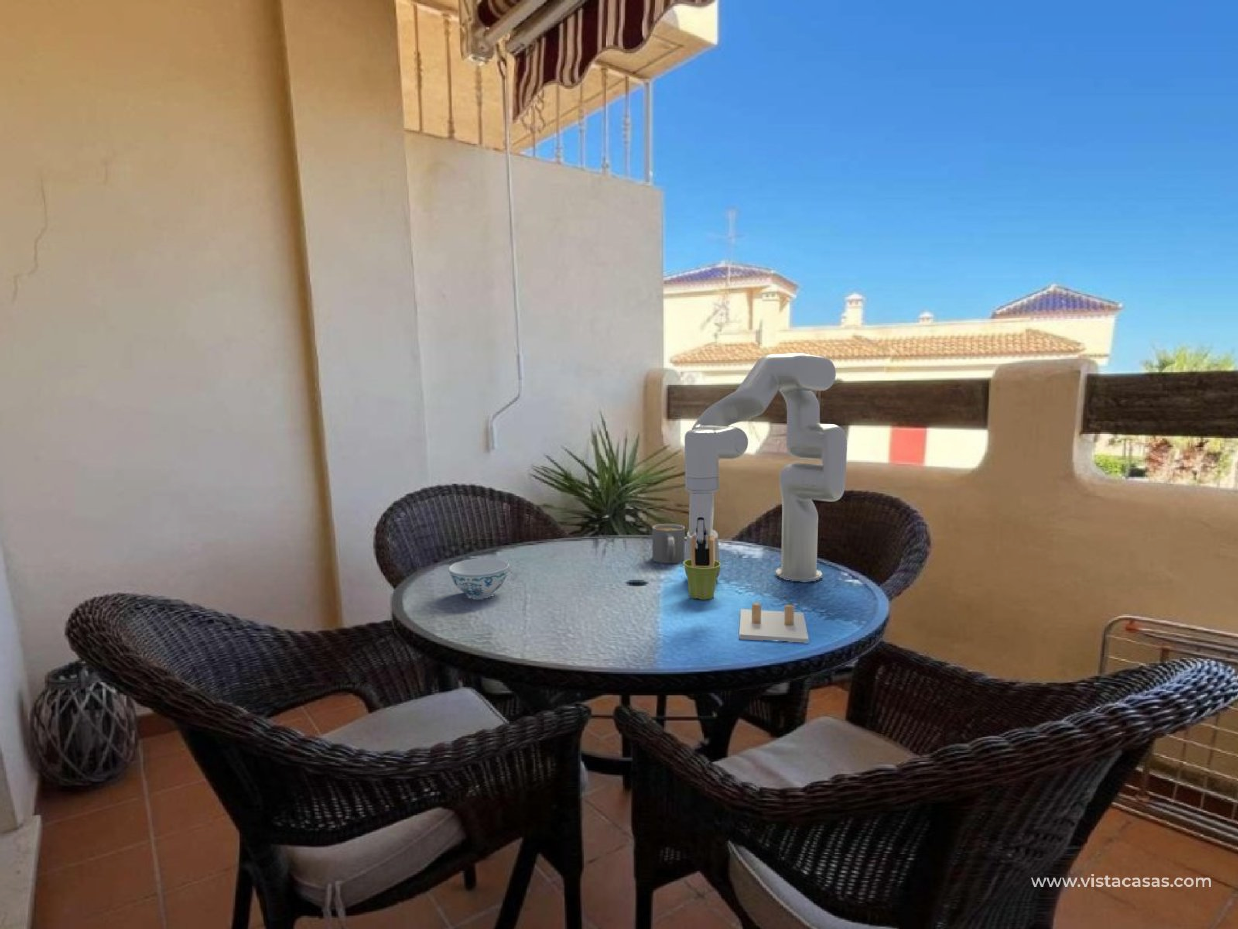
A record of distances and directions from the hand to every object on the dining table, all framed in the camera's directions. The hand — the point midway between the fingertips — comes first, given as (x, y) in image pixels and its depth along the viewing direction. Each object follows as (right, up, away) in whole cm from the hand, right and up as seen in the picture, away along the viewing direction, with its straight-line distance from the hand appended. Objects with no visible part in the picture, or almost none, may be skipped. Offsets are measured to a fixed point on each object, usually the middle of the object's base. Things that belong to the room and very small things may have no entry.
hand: (703, 561), depth 151 cm
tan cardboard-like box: (0, -1, 0) cm, 1 cm away
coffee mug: (-4, -7, +50) cm, 50 cm away
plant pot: (+2, -11, +15) cm, 19 cm away
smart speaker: (+3, -10, +29) cm, 30 cm away
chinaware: (-55, -12, +18) cm, 59 cm away
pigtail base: (+14, -14, -7) cm, 21 cm away
